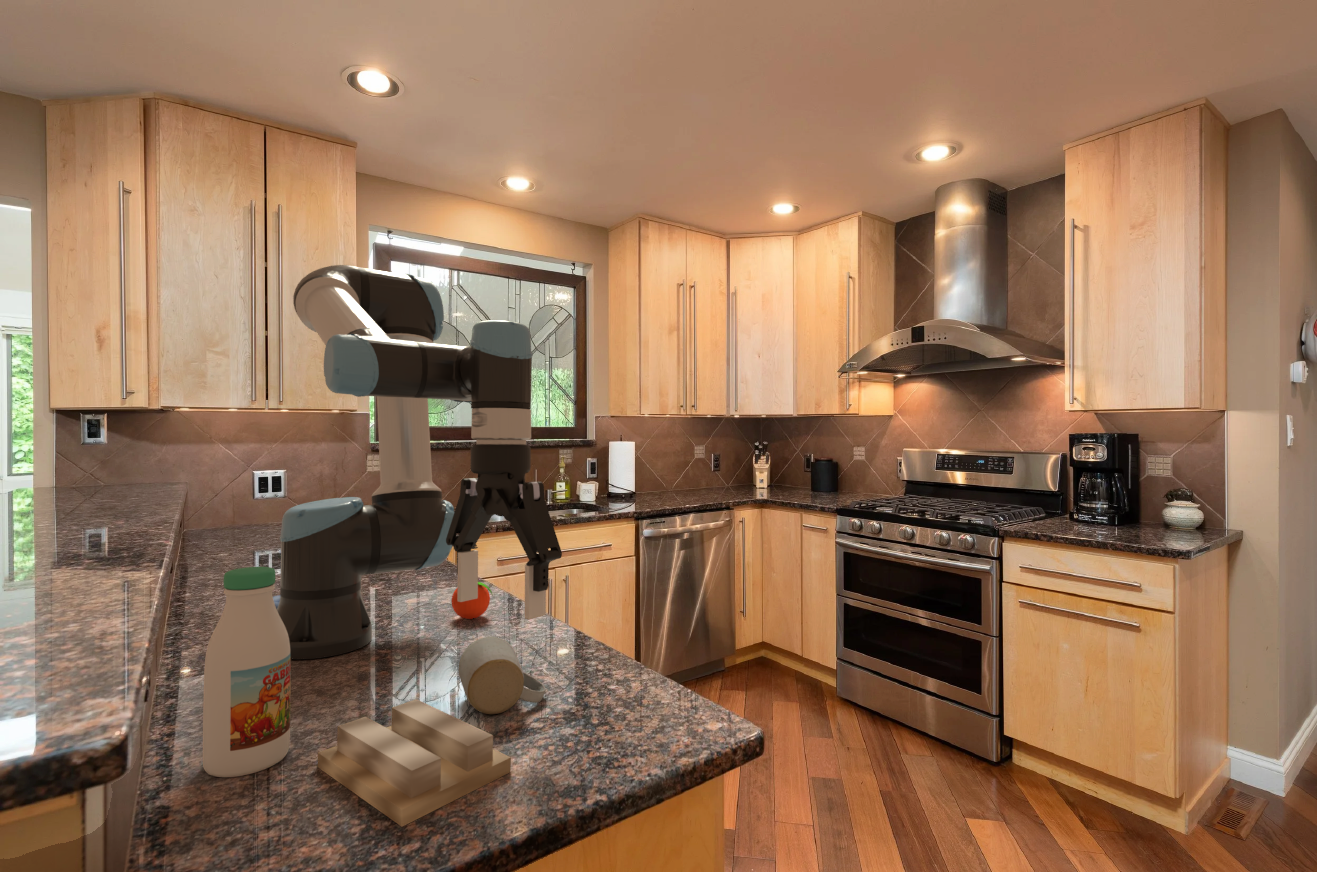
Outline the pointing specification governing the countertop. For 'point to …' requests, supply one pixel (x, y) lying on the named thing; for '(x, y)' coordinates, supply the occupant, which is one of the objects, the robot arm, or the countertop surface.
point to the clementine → (472, 603)
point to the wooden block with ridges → (413, 760)
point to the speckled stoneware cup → (496, 677)
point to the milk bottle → (247, 679)
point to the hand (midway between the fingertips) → (499, 608)
